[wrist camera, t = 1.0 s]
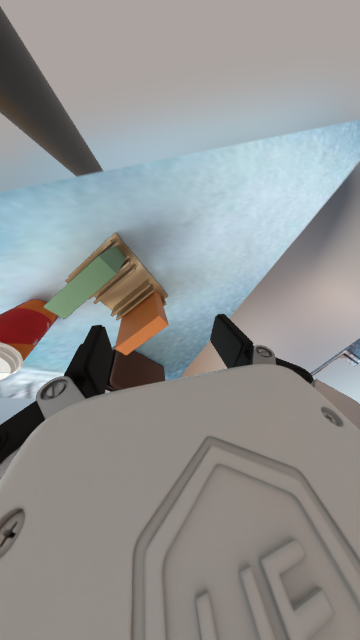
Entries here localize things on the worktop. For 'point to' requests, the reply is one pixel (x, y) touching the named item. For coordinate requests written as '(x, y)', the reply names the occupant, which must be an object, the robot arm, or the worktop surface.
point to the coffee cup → (22, 333)
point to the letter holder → (132, 371)
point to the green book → (86, 283)
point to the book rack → (123, 281)
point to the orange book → (141, 324)
